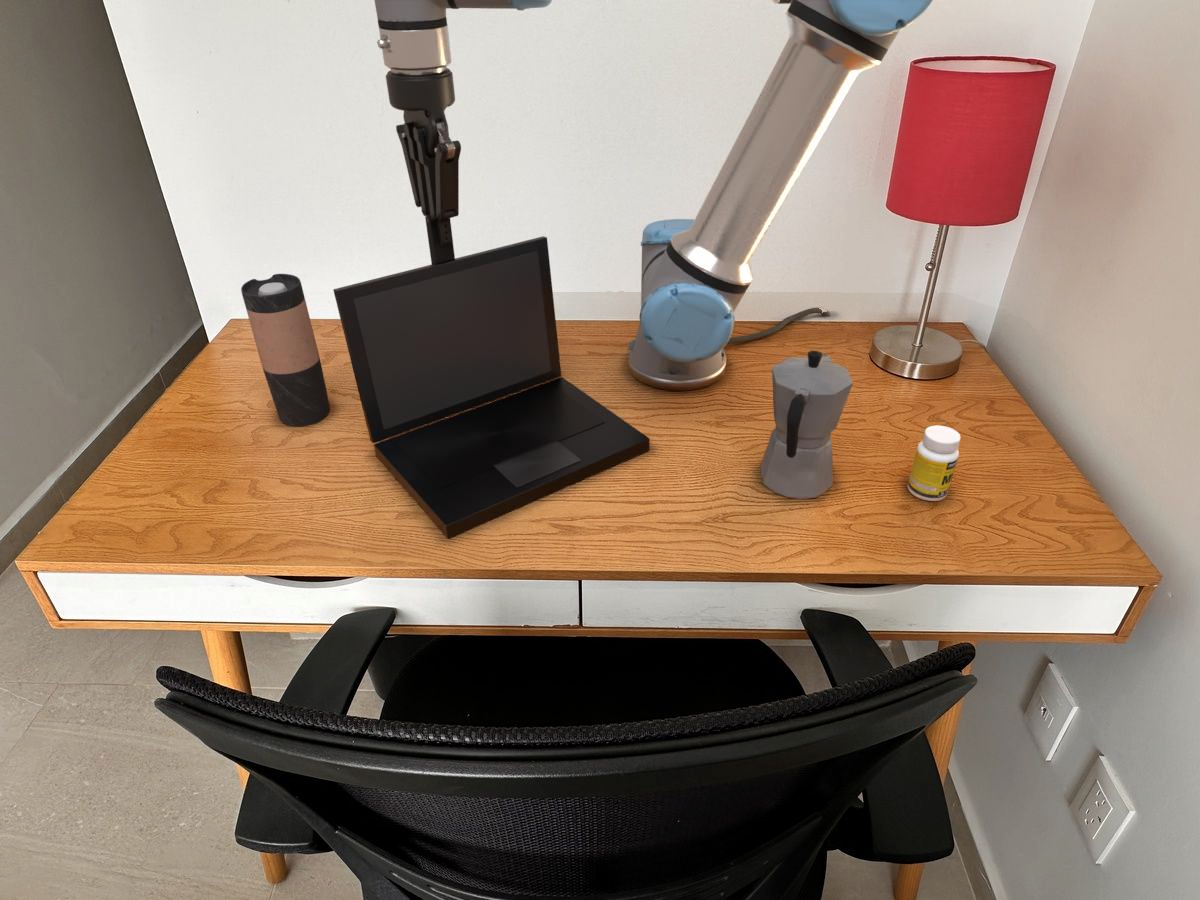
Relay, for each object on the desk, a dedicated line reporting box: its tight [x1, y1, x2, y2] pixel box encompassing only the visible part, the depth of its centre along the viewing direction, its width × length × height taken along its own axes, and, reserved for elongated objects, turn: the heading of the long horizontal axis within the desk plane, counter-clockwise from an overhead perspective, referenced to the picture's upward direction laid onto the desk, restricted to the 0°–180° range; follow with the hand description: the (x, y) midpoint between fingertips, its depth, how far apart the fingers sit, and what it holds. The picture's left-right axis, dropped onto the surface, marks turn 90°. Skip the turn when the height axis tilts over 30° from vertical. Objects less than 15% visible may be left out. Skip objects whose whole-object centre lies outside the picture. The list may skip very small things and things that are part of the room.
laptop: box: [373, 376, 651, 539], centre depth 106 cm, size 21×30×2 cm
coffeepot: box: [759, 350, 854, 500], centre depth 95 cm, size 15×9×18 cm, turn 155°
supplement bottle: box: [907, 424, 961, 502], centre depth 96 cm, size 5×5×8 cm
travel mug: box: [240, 273, 331, 428], centre depth 110 cm, size 8×8×20 cm
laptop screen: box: [332, 235, 562, 444], centre depth 107 cm, size 21×30×1 cm
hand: (443, 266), depth 104 cm, fingers closed
